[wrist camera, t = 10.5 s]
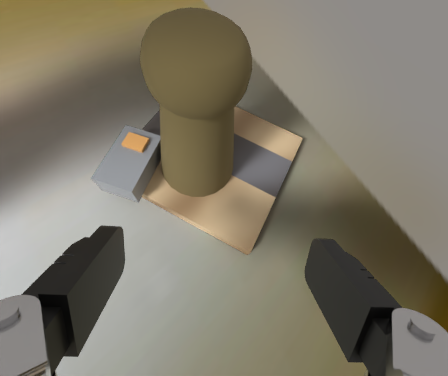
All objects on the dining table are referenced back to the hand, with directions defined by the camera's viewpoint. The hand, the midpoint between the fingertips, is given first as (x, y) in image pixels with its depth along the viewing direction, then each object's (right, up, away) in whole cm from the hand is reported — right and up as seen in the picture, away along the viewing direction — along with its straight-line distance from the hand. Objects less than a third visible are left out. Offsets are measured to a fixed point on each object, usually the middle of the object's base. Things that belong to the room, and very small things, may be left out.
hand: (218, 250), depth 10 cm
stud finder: (-7, +4, +9) cm, 12 cm away
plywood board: (-1, +5, +11) cm, 12 cm away
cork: (-2, +5, +10) cm, 11 cm away
